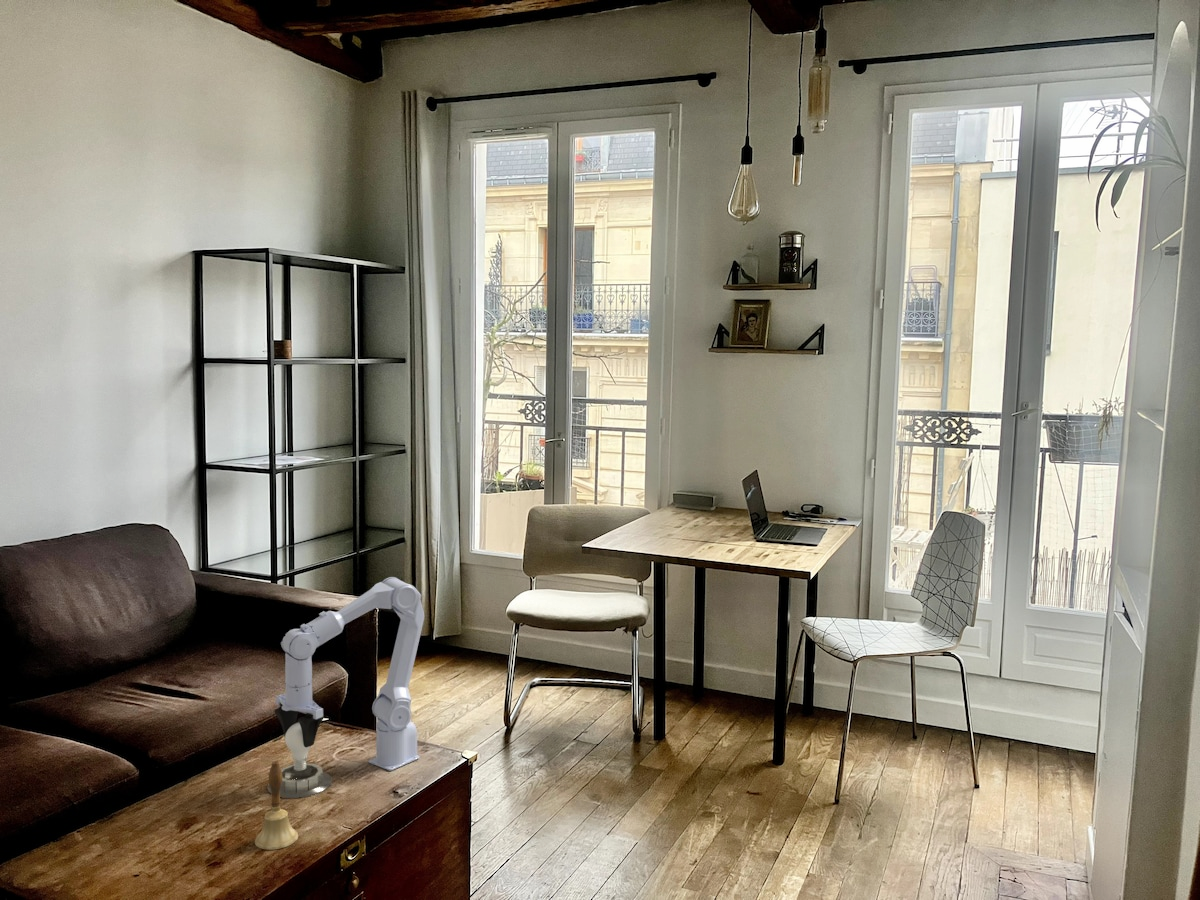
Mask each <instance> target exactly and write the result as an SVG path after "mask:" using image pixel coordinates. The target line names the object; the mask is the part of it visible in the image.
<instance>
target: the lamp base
mask: <svg viewBox="0 0 1200 900" xmlns="http://www.w3.org/2000/svg"><path fill="white" fill-rule="evenodd" d="M306 763H307V764H306V765H307V766H306V767H307V768H306V769H305V770H303V771H301V772H299V771H296V770H294V763H293V764H289V765H287V766H284V767H282V768H281V771H282V786H281V789H280V797H286V798H285V799H287V798H295V799H300V798H299V797H304V798H307V797H306V796H309V797H312V796H311V795H313V796H315V794H316V795H319V794H321V793H323V792H324V791H326V790H327V789H329V788H330V787H329V786H331V785H332V783H333V779H332V776H331V775H330V774H328V773H327V772H325V771H323V768H322V766H321V765H318V764H316V763H309V762H306ZM296 778H297V779H296ZM289 779H290V780H289ZM292 779H293V780H292ZM294 779H295V780H294ZM268 784H269V782H268V783H267V785H266V789H268V790H267V792H268V791H269V792H270V793H271V789H270V786H269V785H268ZM322 791H323V792H322ZM269 792H268V793H269ZM320 792H321V793H320ZM270 793H269V794H270ZM271 794H272V793H271ZM271 794H270V795H271Z"/></svg>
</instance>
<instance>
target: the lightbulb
mask: <svg viewBox="0 0 1200 900" xmlns="http://www.w3.org/2000/svg"><path fill="white" fill-rule="evenodd" d="M284 741H285V745H286V747H287V748H288V749H289V751H290V753H291V755H292V758H293V764H294V770H296V771H299V772H301V771H303V770H305V769H306V768H307V767H306V766H307V765H306V764H307V763H308V762H307V757H308V755H309V751H310V748H311V747H312V746H309V747H304V743H303V734H302V729H301V726H300V723H299V722H296V724H294V725H292V726H291V727H290V728H289V729H288V730H287V732H286V735H285V736H284Z"/></svg>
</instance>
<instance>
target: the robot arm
mask: <svg viewBox="0 0 1200 900" xmlns="http://www.w3.org/2000/svg"><path fill="white" fill-rule="evenodd" d="M421 598H422V594H421V593H420V592H419V590H418V589H417V588H416V587H415V586H414V585H413V584H409V583H406V582H405V581H403V580H400V579H399V578H398V577H395V576H389V577H387V578H384V579H383V580H382V581H380V582H377V583H375V584H374V586H372V587H371V588H370V589H369V590H367V591H366V592H364V593H363V594H361V595H360V596H358V597H357V598H356V599H354V600H353V601H351V602H350V603H348V604H346V605H345V606H344V607H342V608H341V609H338V610H337V611H332V610H328V611H324V610H323V611H322V612H320V613H318V615H319V616H318V617H316V618H315V619H313V620H311V621H309V622H308V623H306V624H305V623H302V624H301V625H299V627H300V628H293V629H289V631H288V632H286V633H285V634H284V635H285V636H283V638H282V640H281V642H280V645H281V648H282V650H283V651H284V652H285V655H284V657H285V663H284V669H285V671H284V672H285V673H284V674H285V675H284V676H285V679H284V681H285V694H284V693H283V694H279V695H276V696H275V705H276V706H279V707H277V708H276V709H274V714H275V715H276V717H277V719H278V720H279V724H280V725H281V728H282V732H283V736H284V737H285V735H286V732H287V730H288V729H289V728H290V727H291V726H292V725H294V724H296V723H297V722H298V723H300V726H301V729H302V734H303V743H304V747H309V746H311V747H312V746H314V744H315V741H316V736H317V733H318V730H319V727H320V726H321V723H322V721H323V720H324V719H325V714H324V708H322V707H321V706H319V705H318V704H317V703H316V702H315V701H314V700H313V662H312V658H313V655H314V653H315V652H316V649H317V648H319V647H320V646H322V645H324V644H325V643H327V642H328V641H329V640H331V639H333V638H335V637H336V636H338V635H340V634H341V633H343V630H344V627H345V625H346V624H348V623H350V622H352V621H353V620H355V619H357V618H359V617H361V616H363V615H365V614H366V613H368V612H370V611H373V610H374V609H384V610H385V609H387V610H391V609H393V611H394V612H395V613H396V614H397V616H398V617H399V619H400V621H399V625H398V629H397V634H396V639H395V643H394V647H393V652H392V655H391V660H390V665H389V668H388V673H387V677H386V681H385V684H384V685H382V686H381V687H380V689H379V692H378V695H377V696H376V698H375V699H374V701H373V703H372V705H371V706H372V707H371V710H372V714H373V715H374V716H375V718H376V723H375V727H376V728H375V729H376V735H375V736H376V743H375V746H376V749H375V750H376V756H375V757H373V758H371V759H368V763H369V764H372V765H375V766H376V767H379V768H382V769H384V770H387V771H394V770H396V769H399V768H401V767H403V766H404V765H405V766H406V765H407V764H409V763H412V762H414V761H416V760H419V759H420V755H418V730H417V726H416V725H415V723H414V722H413V721H411V719H412V710H411V703H412V697H411V694H410V691H409V686H410V682H411V677H412V673H413V670H414V669H413V668H414V665H415V660H416V656H417V651H418V646H419V642H420V638H421V634H422V629H423V626H424V621H425V611H424V607H423V604H422V600H421ZM299 713H302V714H305V715H304V716H301V717H298V714H299Z"/></svg>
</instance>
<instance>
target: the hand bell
mask: <svg viewBox="0 0 1200 900" xmlns="http://www.w3.org/2000/svg"><path fill="white" fill-rule="evenodd" d="M270 766H271V767H270V768H269V773H268V783H269V786H270V789H271V793H272V795H271V809H270V810H269V811H268V812H266V813H265V815H264V817H263V825H262V829H261V831H260V833H259V834H258V835H257V836H256V837H255V839H254V844H255V846H256V847H257V848H258V849H260V850H261V849H262V850H265V851H266V850H267V851H268V850H269V851H271V850H272V851H273V850H278V849H279V850H280V849H283V848H286V847H289V846H291V845H293V844H295V842H297V841H298V839H299V832H297V830H296V829H295V828H293V827H292V825H291V823H290V819H289V813H288V811H287V809H286V810H285V809H283V808H281V798H280V789H281V786H282V771H281V769H282V768H281V765H280V761H277V760H275V761H272V763H271V765H270Z"/></svg>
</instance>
